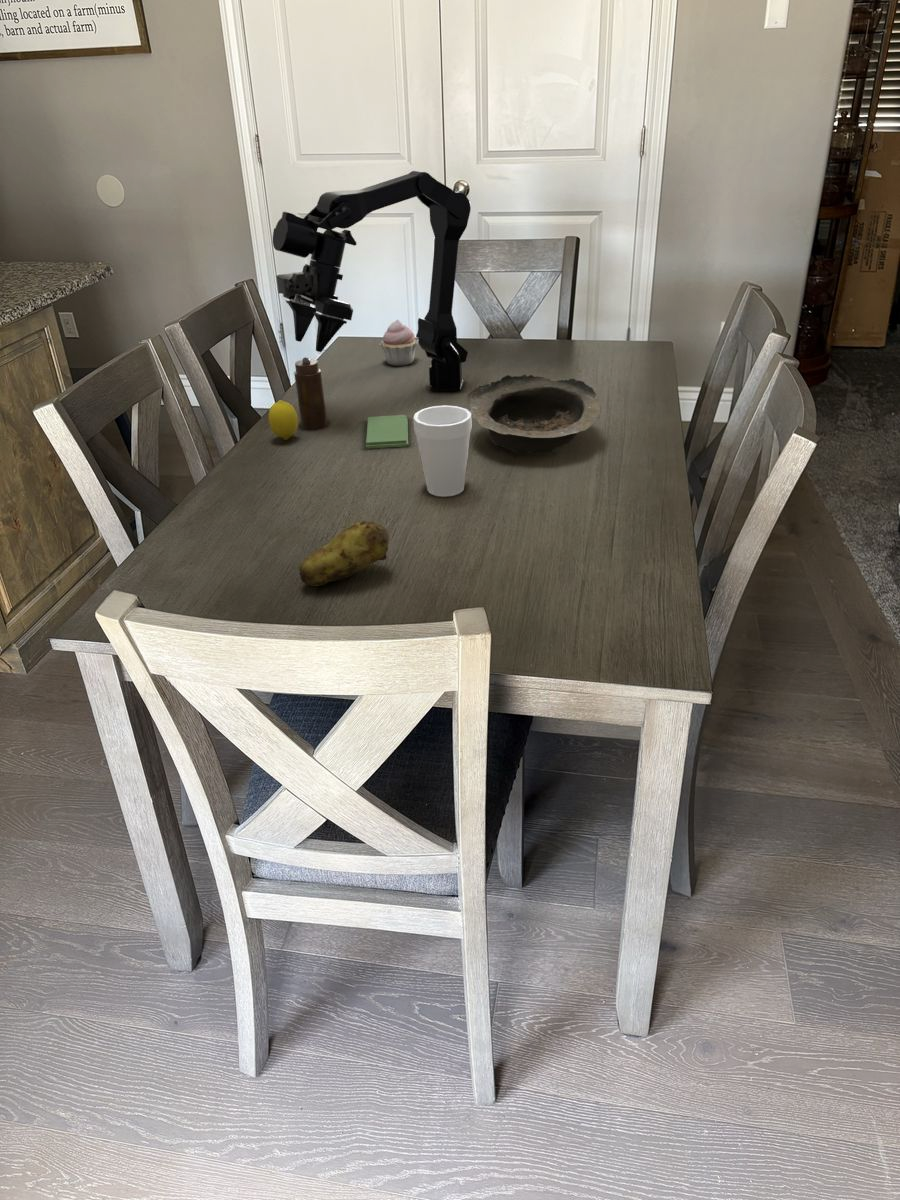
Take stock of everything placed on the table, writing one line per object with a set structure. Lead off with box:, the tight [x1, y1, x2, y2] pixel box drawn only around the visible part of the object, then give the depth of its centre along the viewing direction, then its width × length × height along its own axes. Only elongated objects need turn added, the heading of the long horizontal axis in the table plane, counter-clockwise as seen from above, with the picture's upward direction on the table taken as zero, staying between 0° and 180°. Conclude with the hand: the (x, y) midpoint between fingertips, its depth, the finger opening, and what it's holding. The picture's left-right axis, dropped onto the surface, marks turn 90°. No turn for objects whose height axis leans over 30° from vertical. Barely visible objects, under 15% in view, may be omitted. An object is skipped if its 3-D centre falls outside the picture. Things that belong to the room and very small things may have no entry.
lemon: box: [268, 399, 299, 441], centre depth 167 cm, size 6×6×8 cm
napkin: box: [365, 414, 409, 450], centre depth 169 cm, size 8×14×1 cm, turn 3°
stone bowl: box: [465, 374, 602, 455], centre depth 162 cm, size 25×25×9 cm
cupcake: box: [379, 319, 419, 367], centre depth 206 cm, size 9×9×10 cm
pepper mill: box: [293, 356, 328, 431], centre depth 172 cm, size 5×5×14 cm
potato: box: [298, 519, 390, 587], centre depth 122 cm, size 8×13×8 cm, turn 95°
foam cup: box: [412, 404, 473, 498], centre depth 144 cm, size 10×9×13 cm
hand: (308, 346), depth 169 cm, fingers open, 9 cm apart
